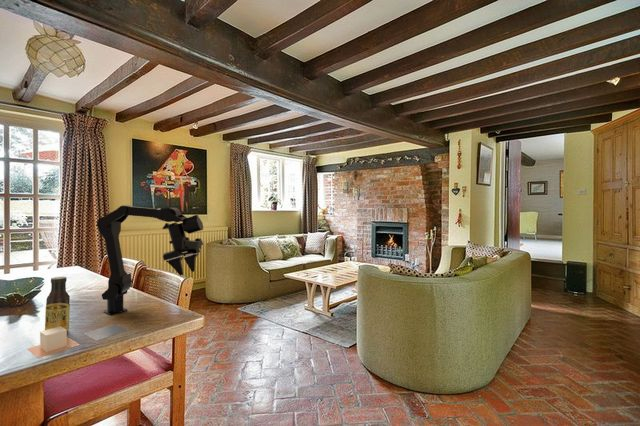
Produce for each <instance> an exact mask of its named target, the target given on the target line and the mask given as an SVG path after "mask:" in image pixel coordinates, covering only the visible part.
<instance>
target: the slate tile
mask: <svg viewBox="0 0 640 426" xmlns="http://www.w3.org/2000/svg"><path fill="white" fill-rule="evenodd" d="M128 331H130V330H129V329H127V328H126V327H123V326H121V325H119V324H116V323H115V324H111V325H107V326H104V327H100V328H97V329H94V330H90V331H87V332H84V333H82V334H83V335H85V336H86V337H88V338H90V339H92V340H94V341H96V342H97V341H101V340H104V339H106V338H110V337H112V336H116V335H118V334H121V333H125V332H128Z"/></svg>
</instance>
